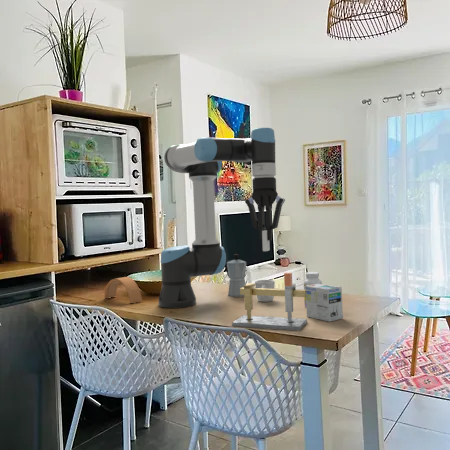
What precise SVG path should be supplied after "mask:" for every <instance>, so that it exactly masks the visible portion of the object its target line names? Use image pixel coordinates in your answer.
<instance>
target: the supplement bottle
mask: <svg viewBox="0 0 450 450" xmlns="http://www.w3.org/2000/svg"><path fill="white" fill-rule="evenodd" d="M319 276H320V272H316V271H309V272H306V273H305V277H306V279H305V280H303V290H306V286H307V285H314V284H323V281H322V280H321V279H320V278H319ZM303 298H304V308H306V297H303Z"/></svg>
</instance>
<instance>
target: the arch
mask: <svg viewBox="0 0 450 450" xmlns="http://www.w3.org/2000/svg"><path fill="white" fill-rule="evenodd" d="M119 284H122V285H123V287H124V288H125V290H126V292H127V295H128V298H129V304H130V303H134V304H137V303H136V302H138V303H142V302H143V299H142V294H141V290H140V288H139V286H138V284H137V282H136V281H135V280H134V279H133V278H131V277H129V276H124V277H118V278H117V277H116V278H113V279H110V281H109V282H108V283H107V284H106V286H105V289H104V299H105V298H109V297H114V296H116V297H117V291H118V286H119ZM141 301H142V302H141Z"/></svg>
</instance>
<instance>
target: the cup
mask: <svg viewBox="0 0 450 450" xmlns="http://www.w3.org/2000/svg"><path fill="white" fill-rule="evenodd" d="M254 283H255V288H269V289H275V287H276V286H275V284H276V281H275V280H272V279H259V280H256V281H254ZM274 297H275V296H263V295H256V299H257V301H258V302H262V303H267V302H273V300H274Z"/></svg>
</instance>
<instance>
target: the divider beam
mask: <svg viewBox="0 0 450 450" xmlns="http://www.w3.org/2000/svg"><path fill="white" fill-rule="evenodd" d="M240 295H244V296H243V297H244V310H245V311H246V315H247V319H251V316H252V310H253V309H254V306H253V305H254V304H253V300H254V299H253V296H257V295H263V296H274V297H285V288H274V289H269V288H256V286H255V282H254V283H253V282H250V283H246V285H244V288H240ZM306 296H307V295H306V290H304V289H299V288H298V289H297V288H296V289H293V298H294V297H295V298H304V297H306Z"/></svg>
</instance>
